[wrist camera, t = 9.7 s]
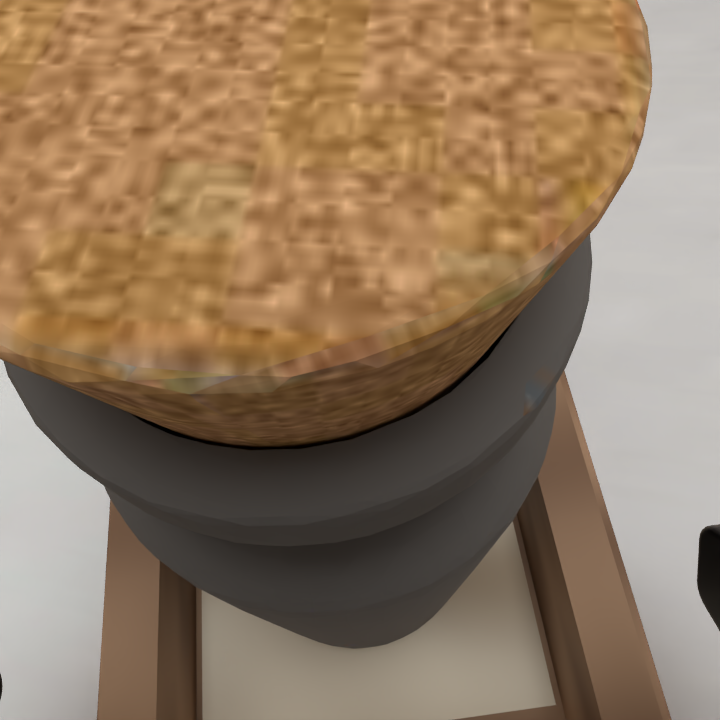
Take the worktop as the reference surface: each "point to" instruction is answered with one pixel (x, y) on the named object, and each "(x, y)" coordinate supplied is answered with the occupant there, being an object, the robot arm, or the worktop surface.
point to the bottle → (309, 274)
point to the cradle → (415, 651)
